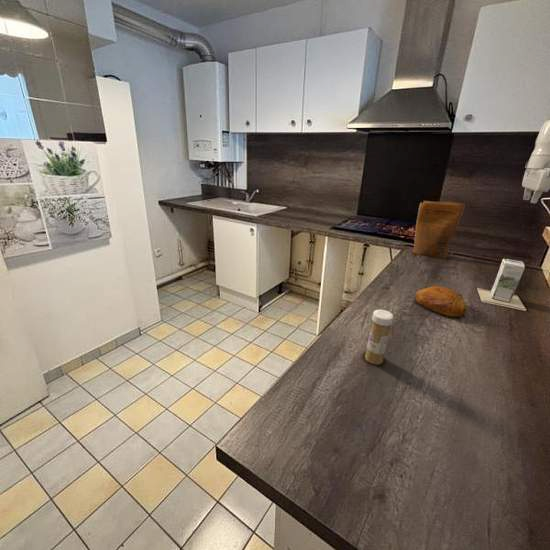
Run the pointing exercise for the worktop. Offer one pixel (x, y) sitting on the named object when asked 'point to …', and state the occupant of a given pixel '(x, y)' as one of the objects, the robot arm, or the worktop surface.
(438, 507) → the worktop surface
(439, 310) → the bread loaf
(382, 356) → the sprinkles bottle
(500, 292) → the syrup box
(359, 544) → the worktop surface
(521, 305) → the napkin
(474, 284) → the worktop surface
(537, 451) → the worktop surface
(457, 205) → the pancake mix bag
